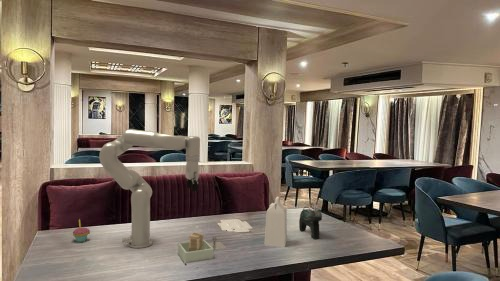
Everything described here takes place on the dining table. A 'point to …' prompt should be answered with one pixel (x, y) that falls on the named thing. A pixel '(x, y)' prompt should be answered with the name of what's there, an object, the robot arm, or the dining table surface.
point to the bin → (194, 252)
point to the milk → (276, 225)
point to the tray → (234, 225)
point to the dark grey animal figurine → (310, 221)
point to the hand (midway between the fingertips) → (192, 189)
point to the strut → (195, 242)
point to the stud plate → (216, 244)
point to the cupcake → (80, 233)
